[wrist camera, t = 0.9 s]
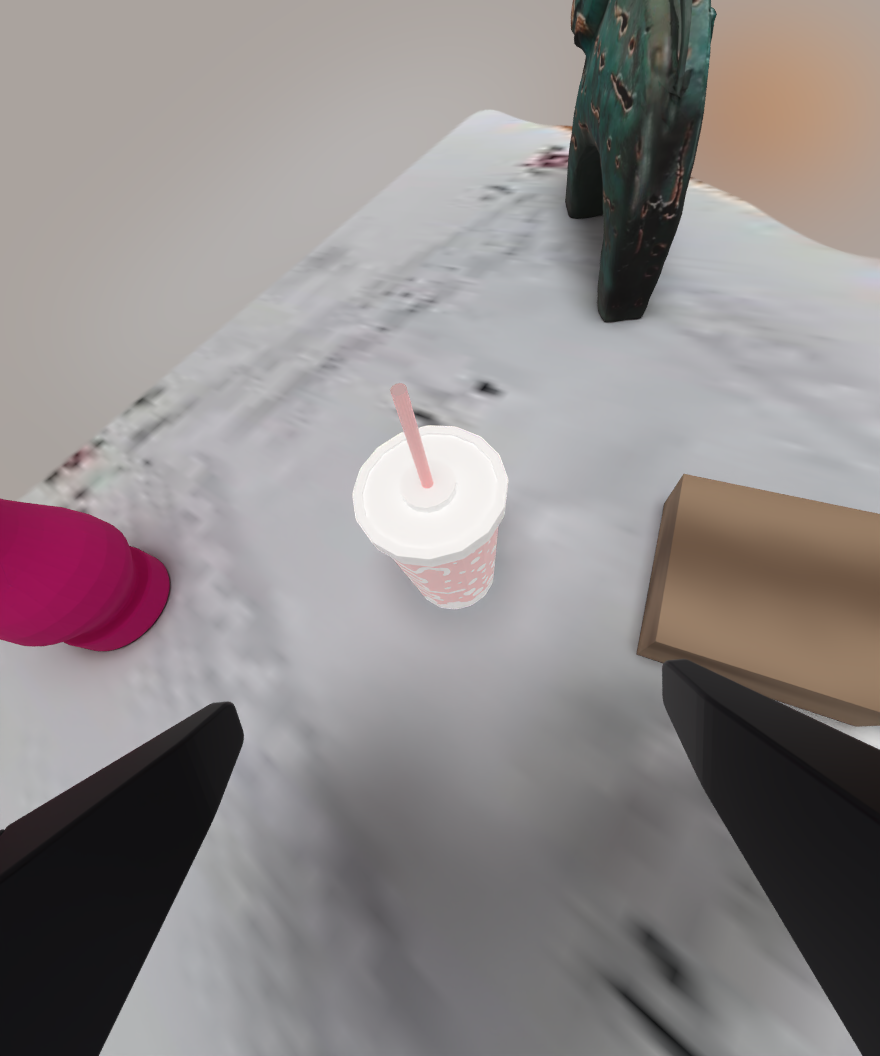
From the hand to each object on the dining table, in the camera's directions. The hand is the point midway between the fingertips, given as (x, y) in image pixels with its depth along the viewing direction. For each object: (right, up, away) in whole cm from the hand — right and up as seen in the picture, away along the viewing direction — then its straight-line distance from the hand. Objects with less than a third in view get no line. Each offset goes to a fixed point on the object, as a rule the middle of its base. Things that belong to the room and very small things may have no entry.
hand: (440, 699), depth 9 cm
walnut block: (+15, 0, +12) cm, 20 cm away
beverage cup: (+1, +1, +16) cm, 16 cm away
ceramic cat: (+14, +27, +27) cm, 41 cm away
